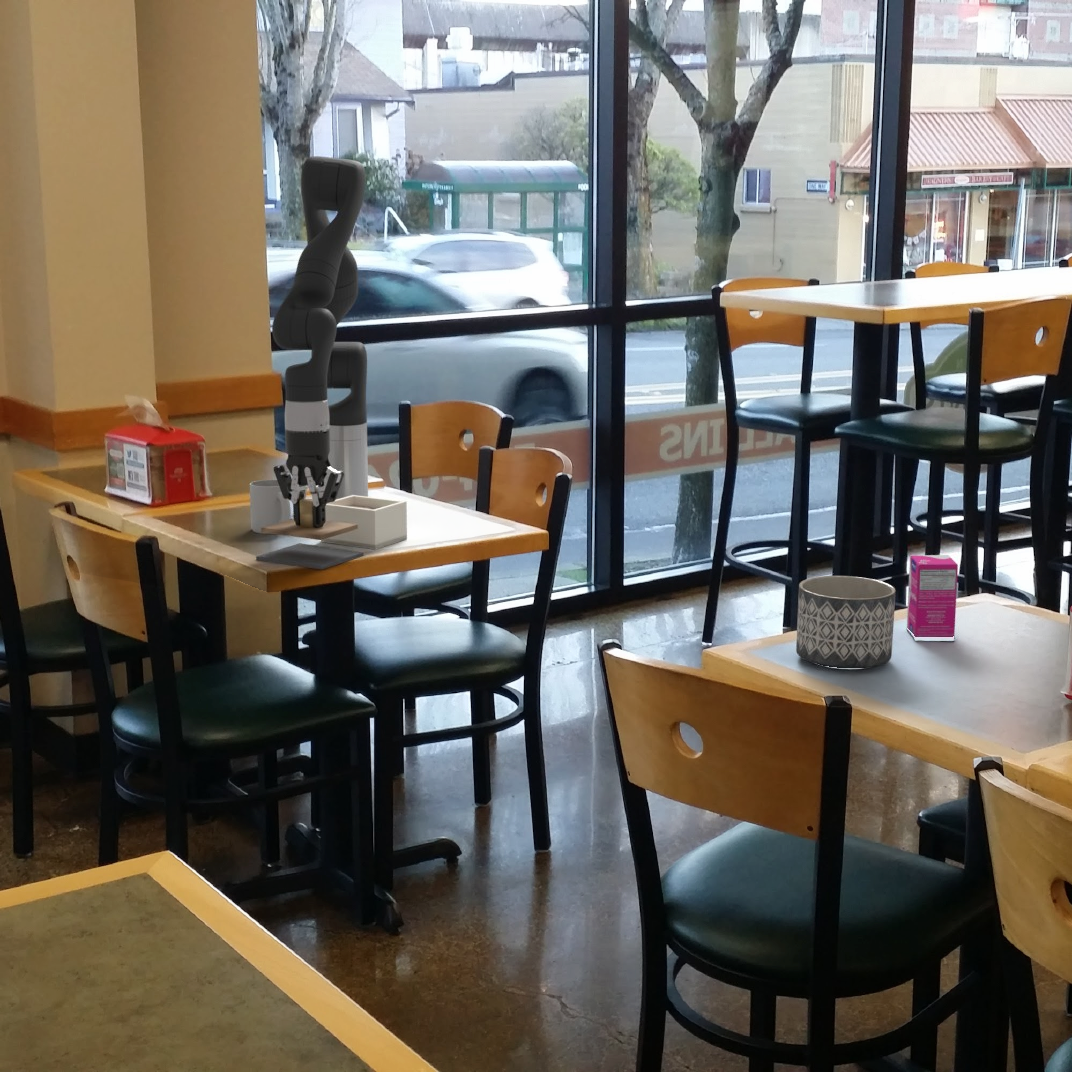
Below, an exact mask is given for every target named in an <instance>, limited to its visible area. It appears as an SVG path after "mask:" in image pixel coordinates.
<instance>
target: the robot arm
mask: <svg viewBox="0 0 1072 1072" xmlns="http://www.w3.org/2000/svg"><path fill="white" fill-rule="evenodd" d="M300 174H301V175H300V191H301V199H302V207H303V214H304V215H303V216H304V222H305V230H306V241H307V244H306V246H305V247H304V249H303V250H302V252H301V254H300V256H299V258H298V261H297V266H296V268H295V269H296V270H295V274H294V279H293V283H292V286H291V287H290V290H289V291H288V293H287V294H286V296H285V298H284V300H283V301H282V302H281V304H280V305H279V306H278V307H279V308H278V310H277V311H276V313H275V315H274V318H273V320H272V325H271V326H272V328H271V330H272V332H271V333H272V337H273V340H274V342H275V344H276V345H277V346H278V347H280V349H284V350H291V351H292V350H293V351H311V357H310V359H309V360H308V361H306V362H301V363H295V364H292V365H290V366H288V367H286V369H285V373H284V383H285V407H284V435H285V437H284V439H285V445H284V446H285V453H286V454H287V458H286V460H285V463H283V464H280V465H275V466H274V467H273V472H274V476H275V478H276V480H277V481H278V484H279V487H280V490H281V492H282V495H283V498H284V499H289V502H290V503H292V511H293V518H292V519H294V521H295V523H296V525H300V500H301V499H307V498H306V496H307V495H306V494H307V490H308V492H309V494H311V499H313V504H314V506H313V527H316V528H319V527H322V526H323V525H324V523H325V521H326V511H325V506H326V504H327V503H330V502H334V501H335V500H336V499H340V498H344V497H347V496H351V495H357V496H365V497H369V471H368V470H369V469H368V468H369V467H368V466H369V465H368V425H367V424H368V423H367V422H368V416H367V414H368V413H367V380H368V379H367V378H368V376H367V375H368V355H367V350H366V349H367V348H366V347H365V344H363V343H362V342H360V341H336V336H337V331H338V329H337V328H338V327H337V326H338V325H339V323H340V322H342V320H343V319H344V318H345V317H346V315H347V314H348V313H349V311H350V310H351V309H352V307H353V306H354V305H355V302H356V300H357V298H358V294H359V279H358V278H359V275H358V274H359V273H358V271H359V270H358V264H357V259H355V256H354V254H353V253H352V251H351V250H350V249H349V247H348V246H347V245H348V242H349V241H350V238H351V236H352V233H353V231H354V228H355V225H356V222H357V220H358V217H359V215H360V213H361V209H362V206H363V202H364V198H365V194H366V183H367V182H366V177H367V176H366V170H365V168H364V165H363V164H362V163H361V162H360V161H358V160H353V159H347V158H337V157H329V156H322V155H321V156H319V155H316V156H314V155H312V156H309V157H307V158H306V159H305V161H304V162H303V165H302V168H301V173H300ZM327 211H329V212H337V213H336V215H335V217H334V218H333V219H332V220H331V221H330V220H329V217H328V214H327ZM328 389H329V390H331V389H332V390H333V389H335V390H337V389H341V390H343V389H345V390H346V389H349V390H350V393H349V394H348V395H347V396H346V397H345V398H343V399H341V400H340V401H338V402H335V403H333V404H329V401H328ZM288 490H289V491H288Z"/></svg>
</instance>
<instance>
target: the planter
mask: <svg viewBox="0 0 1072 1072" xmlns="http://www.w3.org/2000/svg"><path fill="white" fill-rule="evenodd" d="M895 602H896V588H895V586H894V585H891V584H890V583H887V582H884V581H881V580H877V579H875V578H874V579H873V578H867V577H859V576H852V575H851V576H850V575H825V576H824V575H823V576H816V577H810V578H807V579H804V580H802V581H800V582H799V584H798V601H797V603H798V604H797V623H796V647H795V648H796V650H795V651H796V654H797V655H798V656H799V658H801V659H802V660H805V661H807V662H810V663H812V664H815V665H818V664H819V665H818V666H820V665H823V666H829V667H837V668H866V669H869V668H875V667H880V666H882V665H885V664H887V663H888V662H890V661H891V659H892V656H893V654H892V653H893V640H894V639H893V636H894V624H895V623H894V622H895V607H896V604H895ZM823 666H822V667H823Z"/></svg>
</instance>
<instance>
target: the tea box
mask: <svg viewBox="0 0 1072 1072" xmlns="http://www.w3.org/2000/svg"><path fill="white" fill-rule="evenodd" d="M407 504H408V502H407V501H405V500H398V499H388V498H382V497H381V498H380V497H372V496H368V497H365V496H357V495H351V496H347V497H344V498H340V499H336V500H335V501H334V502H330V503H327V504H326V506H325V511H326V520H327V521H335V522H343V523H350V524H358V529H356V530H353V531H349V532H346V533H343V534H339V535H336V536H333V537H330V538H326V539H323V540H320V542H321V543H328V544H333V545H334V544H336V545H341V546H342V545H343V546H349V547H355V548H364V549H370V550H379V549H381V548H384V547H387V546H390V545H393V544H396V543H399V542H403V541H406V540H407V539H408V528H407V527H408V519H407V518H408V517H407V516H408V515H407V514H408V513H407V512H408V509H407Z"/></svg>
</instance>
